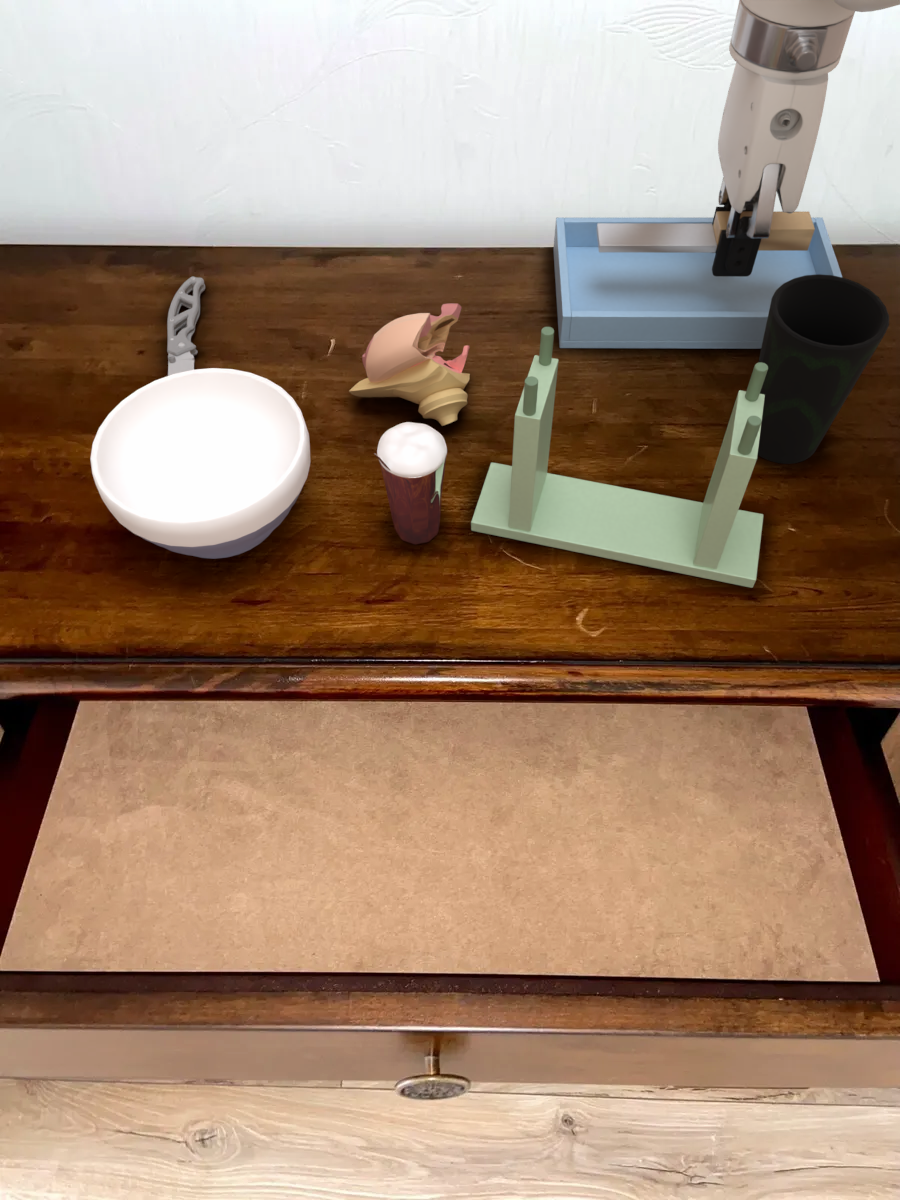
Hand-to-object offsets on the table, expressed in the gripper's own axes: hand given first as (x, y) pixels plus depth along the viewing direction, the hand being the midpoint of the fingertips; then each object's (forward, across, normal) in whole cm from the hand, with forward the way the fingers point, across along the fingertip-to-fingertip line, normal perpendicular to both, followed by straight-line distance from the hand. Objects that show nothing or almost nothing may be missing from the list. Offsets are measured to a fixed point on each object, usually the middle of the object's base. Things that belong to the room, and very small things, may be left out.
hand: (728, 260), depth 79 cm
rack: (+4, -26, +11) cm, 28 cm away
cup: (+4, -17, -2) cm, 17 cm away
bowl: (+4, -25, +40) cm, 47 cm away
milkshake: (+4, -26, +26) cm, 37 cm away
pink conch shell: (+4, -13, +26) cm, 29 cm away
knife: (+4, -8, +45) cm, 46 cm away
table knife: (-2, 0, +3) cm, 3 cm away
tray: (+4, 0, +2) cm, 4 cm away
